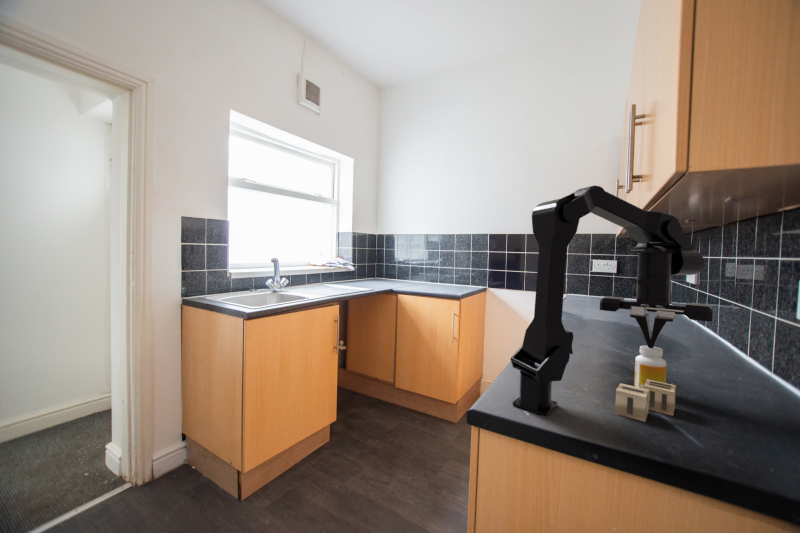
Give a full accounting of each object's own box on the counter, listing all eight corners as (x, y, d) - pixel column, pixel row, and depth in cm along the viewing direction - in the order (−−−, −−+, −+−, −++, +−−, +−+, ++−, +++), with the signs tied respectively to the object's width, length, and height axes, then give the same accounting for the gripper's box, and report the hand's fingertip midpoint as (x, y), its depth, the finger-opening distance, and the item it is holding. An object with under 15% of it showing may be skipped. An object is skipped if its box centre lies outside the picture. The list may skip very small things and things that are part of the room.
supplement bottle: (672, 398, 69) (674, 351, 69) (645, 397, 69) (647, 351, 69) (652, 387, 74) (654, 344, 74) (628, 387, 74) (630, 344, 74)
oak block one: (644, 422, 59) (645, 396, 58) (614, 414, 62) (615, 389, 61) (648, 413, 62) (649, 389, 62) (619, 406, 65) (620, 382, 65)
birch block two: (673, 416, 61) (674, 391, 61) (642, 408, 64) (643, 385, 64) (674, 408, 64) (675, 384, 64) (646, 401, 67) (646, 378, 67)
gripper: (713, 276, 71) (709, 349, 71) (610, 272, 83) (608, 334, 84) (714, 278, 62) (710, 360, 63) (600, 273, 75) (598, 342, 75)
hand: (650, 347), depth 71 cm, fingers closed, pressing on supplement bottle
